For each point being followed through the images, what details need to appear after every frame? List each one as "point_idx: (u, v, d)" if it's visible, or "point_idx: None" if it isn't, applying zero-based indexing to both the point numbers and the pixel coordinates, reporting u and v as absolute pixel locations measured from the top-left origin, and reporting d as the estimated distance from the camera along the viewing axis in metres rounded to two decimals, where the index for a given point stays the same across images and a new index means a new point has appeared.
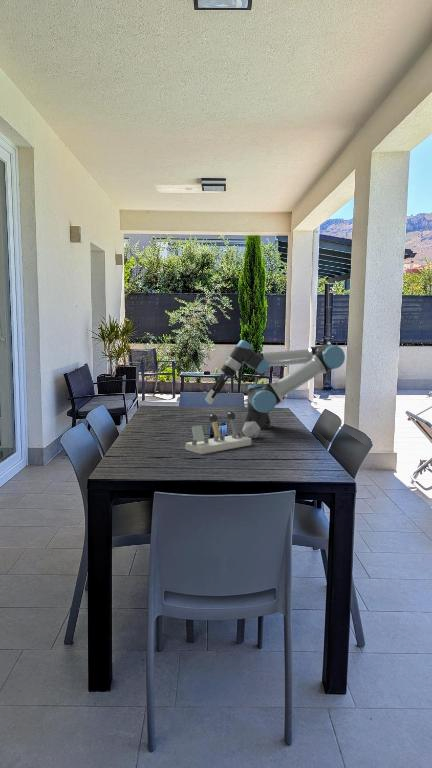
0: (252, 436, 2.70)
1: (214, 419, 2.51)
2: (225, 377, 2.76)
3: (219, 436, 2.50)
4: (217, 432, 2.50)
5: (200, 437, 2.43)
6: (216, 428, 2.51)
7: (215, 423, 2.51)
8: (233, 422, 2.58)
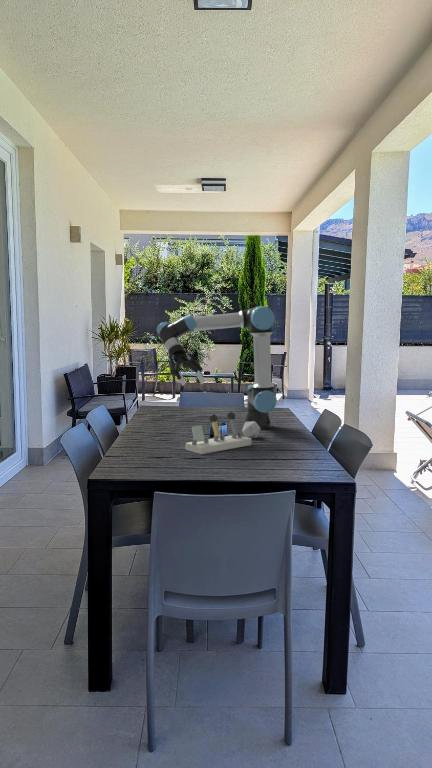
0: (252, 436, 2.70)
1: (214, 419, 2.51)
2: (168, 359, 2.65)
3: (219, 436, 2.50)
4: (217, 432, 2.50)
5: (200, 437, 2.43)
6: (216, 428, 2.51)
7: (215, 423, 2.51)
8: (233, 422, 2.58)
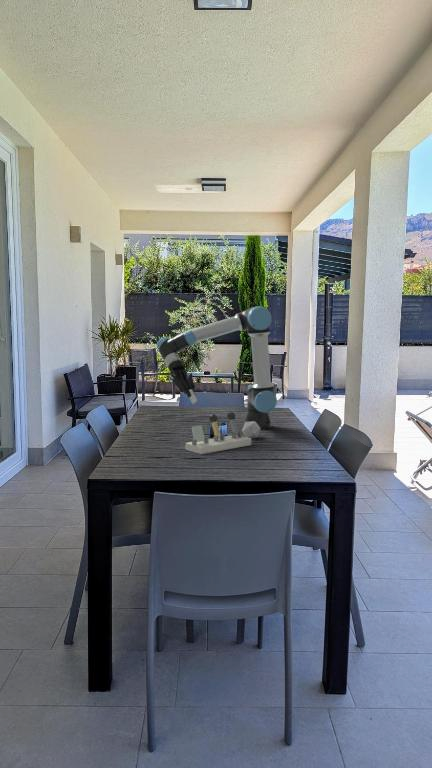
0: (252, 436, 2.70)
1: (214, 419, 2.51)
2: (171, 377, 2.65)
3: (219, 436, 2.50)
4: (217, 432, 2.50)
5: (200, 437, 2.43)
6: (216, 428, 2.51)
7: (215, 423, 2.51)
8: (233, 422, 2.58)
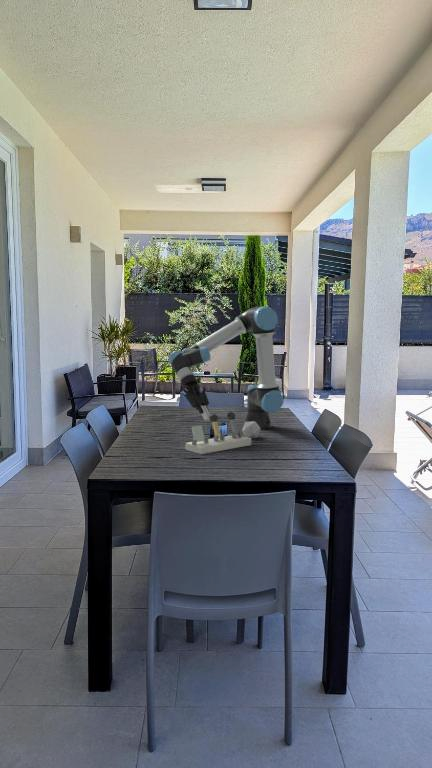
0: (252, 436, 2.70)
1: (215, 419, 2.50)
2: (183, 393, 2.57)
3: (219, 436, 2.50)
4: (217, 432, 2.50)
5: (200, 437, 2.43)
6: (216, 428, 2.51)
7: (215, 423, 2.51)
8: (233, 422, 2.58)
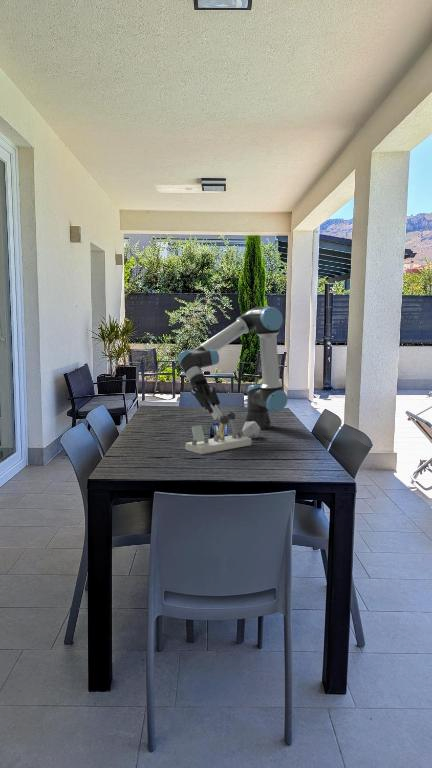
0: (252, 436, 2.70)
1: (224, 423, 2.46)
2: (193, 392, 2.51)
3: (221, 438, 2.49)
4: (221, 434, 2.48)
5: (200, 437, 2.43)
6: (222, 430, 2.48)
7: (223, 425, 2.47)
8: (233, 422, 2.58)
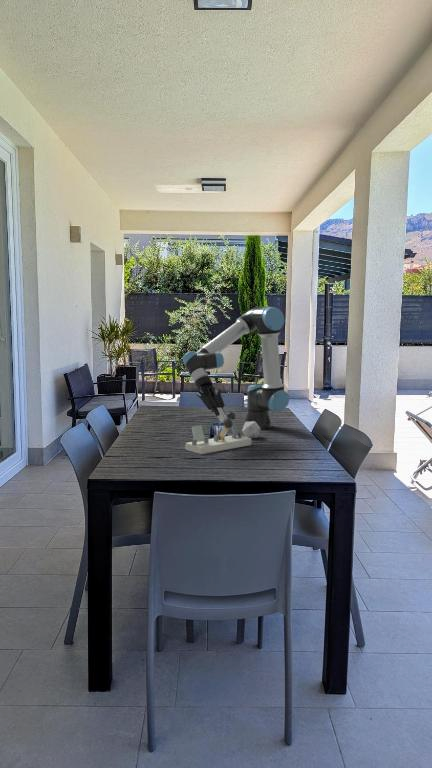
0: (252, 436, 2.70)
1: (228, 427, 2.44)
2: (198, 394, 2.49)
3: (221, 439, 2.49)
4: (222, 436, 2.48)
5: (200, 437, 2.43)
6: (224, 433, 2.47)
7: (226, 429, 2.46)
8: (233, 422, 2.58)
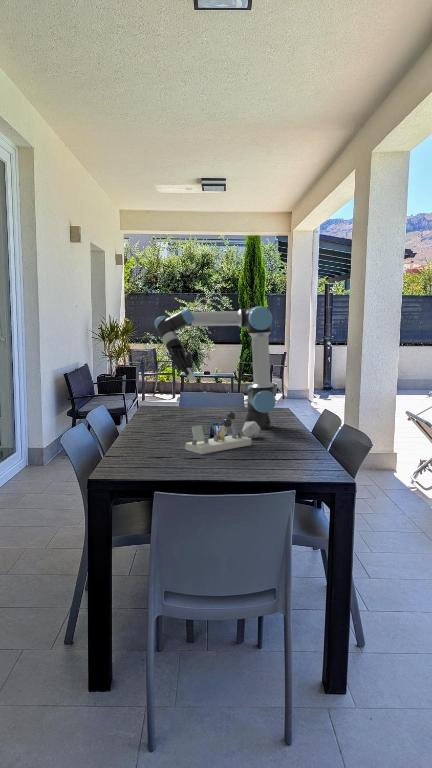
0: (252, 436, 2.70)
1: (227, 426, 2.44)
2: (169, 355, 2.66)
3: (221, 438, 2.49)
4: (222, 435, 2.48)
5: (200, 437, 2.43)
6: (223, 432, 2.47)
7: (226, 428, 2.46)
8: (233, 422, 2.58)
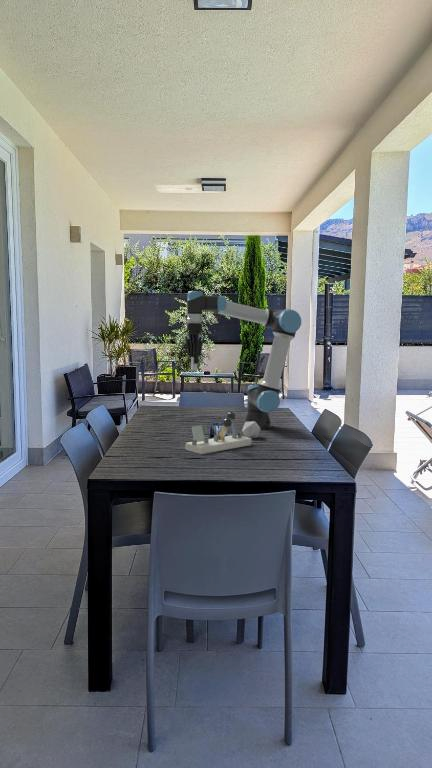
0: (252, 436, 2.70)
1: (227, 426, 2.44)
2: (201, 339, 2.70)
3: (221, 438, 2.49)
4: (222, 435, 2.48)
5: (200, 437, 2.43)
6: (223, 432, 2.47)
7: (226, 428, 2.46)
8: (233, 422, 2.58)
